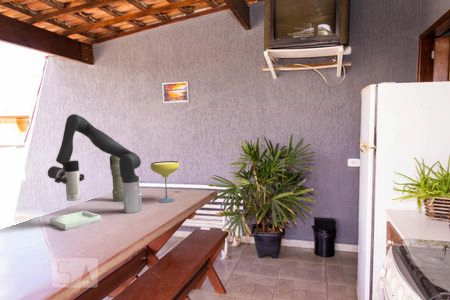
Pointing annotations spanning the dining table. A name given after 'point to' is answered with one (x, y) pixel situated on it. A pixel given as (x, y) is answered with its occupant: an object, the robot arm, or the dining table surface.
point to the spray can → (72, 180)
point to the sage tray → (75, 220)
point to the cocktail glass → (165, 173)
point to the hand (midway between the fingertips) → (73, 179)
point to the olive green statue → (116, 179)
